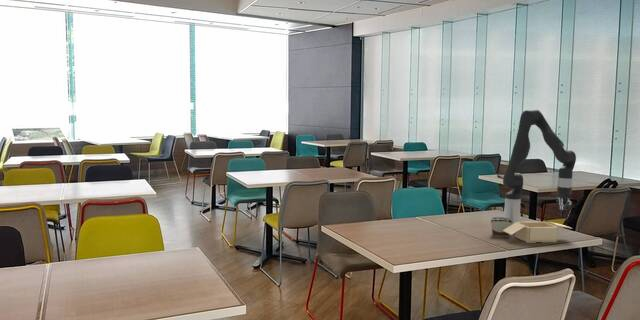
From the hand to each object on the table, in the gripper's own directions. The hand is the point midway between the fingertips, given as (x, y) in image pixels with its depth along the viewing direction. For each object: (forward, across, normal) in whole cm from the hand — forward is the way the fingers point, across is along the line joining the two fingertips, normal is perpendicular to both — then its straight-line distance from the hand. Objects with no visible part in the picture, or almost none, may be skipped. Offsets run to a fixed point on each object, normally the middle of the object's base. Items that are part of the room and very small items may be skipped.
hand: (562, 216), depth 294 cm
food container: (+13, -12, -31) cm, 36 cm away
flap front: (+4, 0, -25) cm, 25 cm away
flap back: (+4, 0, -6) cm, 8 cm away
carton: (+13, 0, -16) cm, 20 cm away
